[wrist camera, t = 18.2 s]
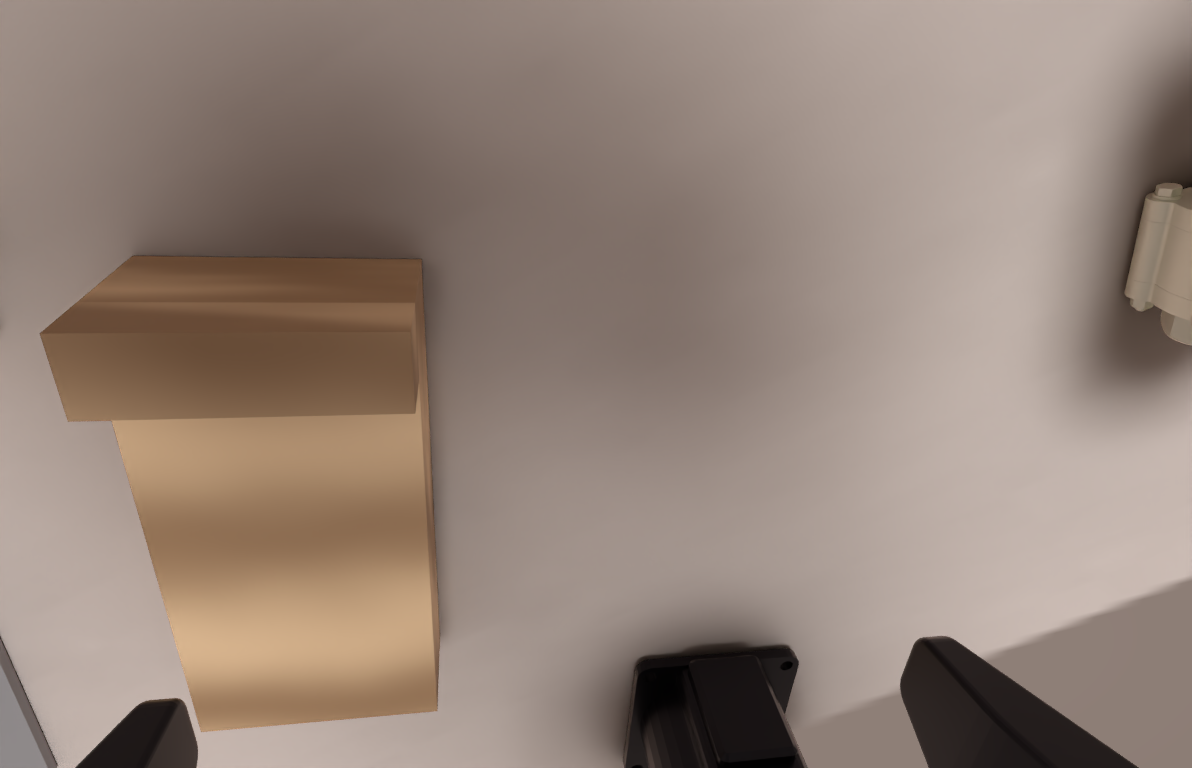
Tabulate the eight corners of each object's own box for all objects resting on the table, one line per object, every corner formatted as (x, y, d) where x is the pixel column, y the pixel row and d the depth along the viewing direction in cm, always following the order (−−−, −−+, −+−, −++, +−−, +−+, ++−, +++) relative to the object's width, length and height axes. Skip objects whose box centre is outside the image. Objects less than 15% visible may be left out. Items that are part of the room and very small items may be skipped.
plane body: (439, 637, 26) (435, 757, 22) (228, 653, 25) (183, 782, 21) (421, 259, 19) (410, 331, 15) (132, 255, 18) (39, 333, 14)
